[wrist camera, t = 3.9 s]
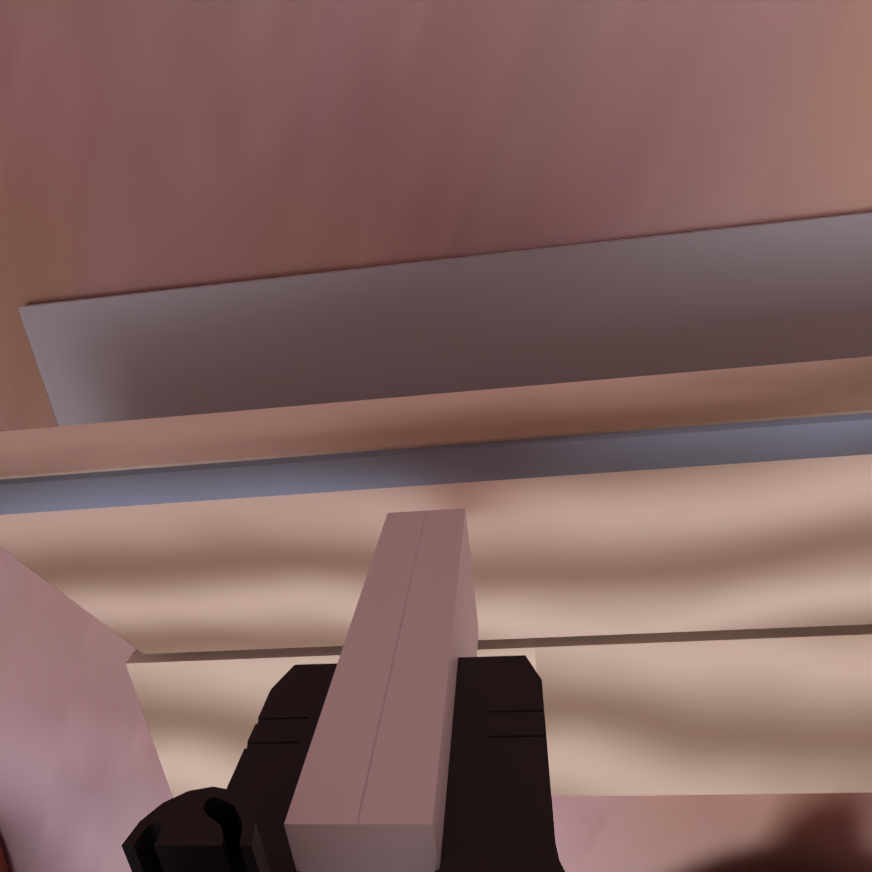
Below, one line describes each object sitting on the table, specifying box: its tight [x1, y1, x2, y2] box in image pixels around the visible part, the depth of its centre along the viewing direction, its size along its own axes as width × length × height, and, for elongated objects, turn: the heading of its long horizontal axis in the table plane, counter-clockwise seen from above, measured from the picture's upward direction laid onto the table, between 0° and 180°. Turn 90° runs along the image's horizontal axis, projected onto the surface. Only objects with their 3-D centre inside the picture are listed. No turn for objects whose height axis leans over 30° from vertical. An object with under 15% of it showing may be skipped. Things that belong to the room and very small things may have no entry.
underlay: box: [18, 211, 872, 649], centre depth 23 cm, size 20×31×1 cm, turn 97°
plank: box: [0, 356, 872, 654], centre depth 18 cm, size 11×28×2 cm, turn 96°
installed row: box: [126, 624, 872, 798], centre depth 25 cm, size 7×30×1 cm, turn 97°
